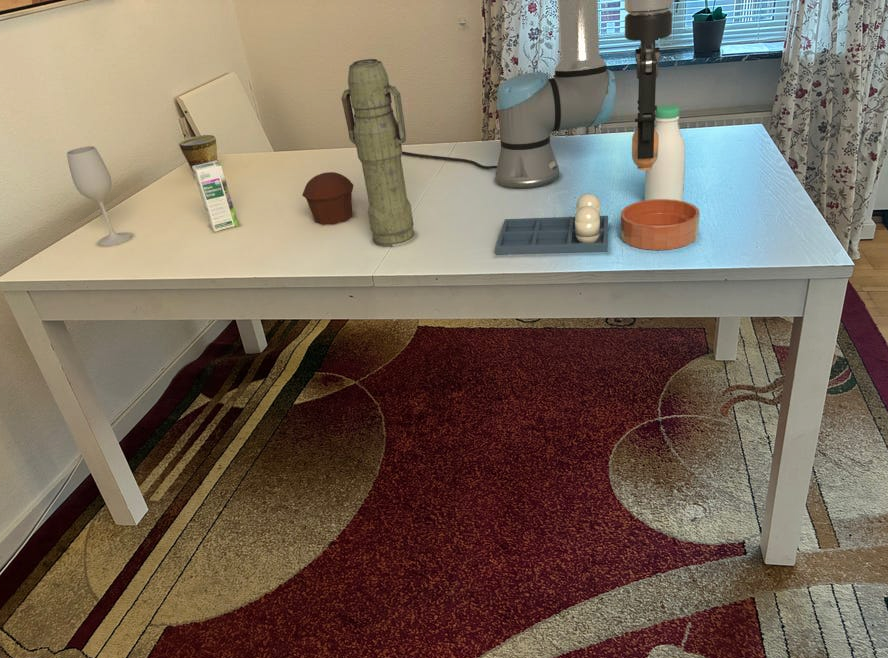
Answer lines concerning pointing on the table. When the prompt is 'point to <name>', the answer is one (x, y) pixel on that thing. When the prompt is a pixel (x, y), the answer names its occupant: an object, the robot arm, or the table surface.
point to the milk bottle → (667, 158)
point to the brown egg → (644, 163)
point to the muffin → (329, 198)
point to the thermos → (379, 149)
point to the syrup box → (215, 195)
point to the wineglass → (93, 184)
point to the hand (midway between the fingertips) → (645, 153)
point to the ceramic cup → (199, 149)
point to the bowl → (659, 224)
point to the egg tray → (547, 237)
